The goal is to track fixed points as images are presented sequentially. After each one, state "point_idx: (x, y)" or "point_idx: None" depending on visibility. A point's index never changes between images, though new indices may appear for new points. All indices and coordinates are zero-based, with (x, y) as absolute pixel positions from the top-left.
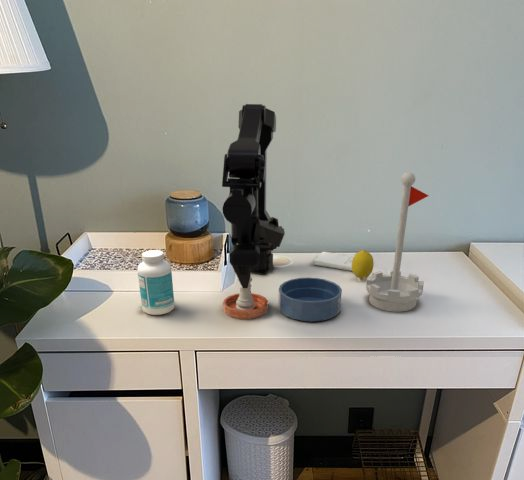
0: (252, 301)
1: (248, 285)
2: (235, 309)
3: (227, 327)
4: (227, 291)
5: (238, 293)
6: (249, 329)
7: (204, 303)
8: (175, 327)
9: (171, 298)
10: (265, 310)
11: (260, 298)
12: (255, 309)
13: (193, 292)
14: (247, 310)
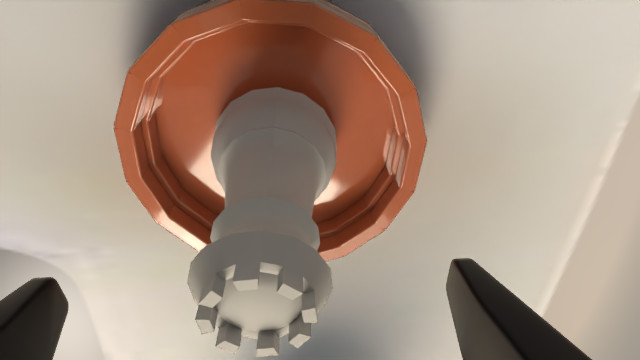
0: (294, 123)
1: (299, 229)
2: (390, 208)
3: (486, 205)
4: (40, 236)
5: (147, 207)
6: (540, 102)
7: None
8: (445, 356)
9: None
10: (339, 10)
11: (170, 57)
12: (401, 94)
13: (111, 349)
14: (412, 144)
